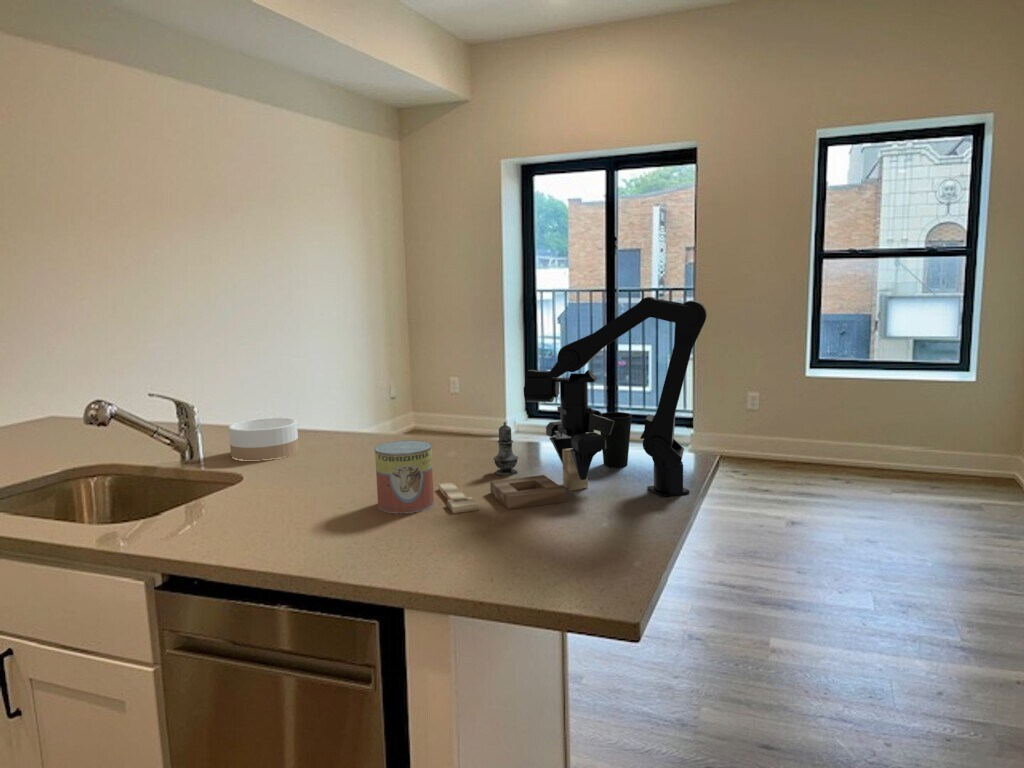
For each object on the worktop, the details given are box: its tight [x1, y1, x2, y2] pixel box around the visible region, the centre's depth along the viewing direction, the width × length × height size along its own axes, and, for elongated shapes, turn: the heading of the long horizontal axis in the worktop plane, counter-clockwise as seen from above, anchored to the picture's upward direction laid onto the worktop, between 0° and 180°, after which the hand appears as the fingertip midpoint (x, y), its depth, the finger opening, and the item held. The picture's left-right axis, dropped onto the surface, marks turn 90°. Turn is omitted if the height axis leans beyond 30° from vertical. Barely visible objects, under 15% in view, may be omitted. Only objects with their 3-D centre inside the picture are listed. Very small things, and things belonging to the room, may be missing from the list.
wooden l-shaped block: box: [438, 482, 479, 514], centre depth 148 cm, size 17×5×1 cm, turn 19°
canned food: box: [374, 440, 435, 515], centre depth 144 cm, size 11×11×12 cm
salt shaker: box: [492, 421, 519, 477], centre depth 166 cm, size 6×6×12 cm
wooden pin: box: [562, 448, 589, 491], centre depth 154 cm, size 4×4×8 cm
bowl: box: [228, 417, 300, 460], centre depth 193 cm, size 17×17×8 cm
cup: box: [599, 411, 633, 468], centre depth 171 cm, size 8×8×12 cm
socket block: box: [489, 474, 567, 510], centre depth 148 cm, size 12×12×2 cm
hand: (575, 474), depth 154 cm, fingers open, 8 cm apart
